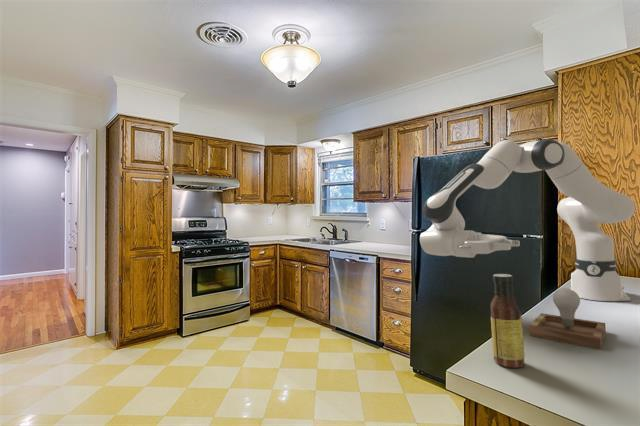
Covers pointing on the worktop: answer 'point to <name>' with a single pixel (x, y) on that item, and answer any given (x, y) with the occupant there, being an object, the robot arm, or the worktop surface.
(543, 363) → the worktop surface
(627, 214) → the robot arm
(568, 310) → the lightbulb
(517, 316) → the sauce bottle
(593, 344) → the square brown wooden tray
